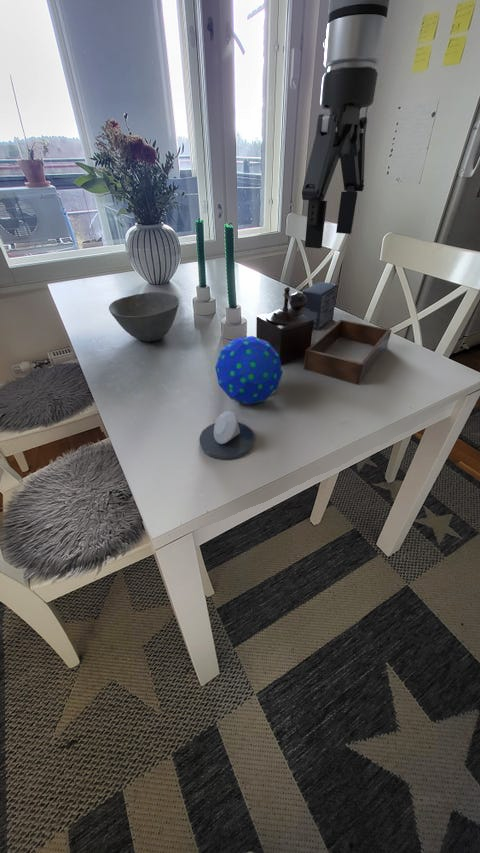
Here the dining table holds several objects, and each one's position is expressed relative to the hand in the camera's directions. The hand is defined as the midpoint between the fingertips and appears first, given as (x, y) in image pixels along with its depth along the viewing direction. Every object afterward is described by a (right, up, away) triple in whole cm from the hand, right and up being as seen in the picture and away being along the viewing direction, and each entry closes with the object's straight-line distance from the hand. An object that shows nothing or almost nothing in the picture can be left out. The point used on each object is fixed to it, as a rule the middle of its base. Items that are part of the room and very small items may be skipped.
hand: (329, 240), depth 61 cm
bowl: (-41, -8, +38) cm, 57 cm away
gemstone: (-18, -35, +2) cm, 40 cm away
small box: (+7, -2, +44) cm, 44 cm away
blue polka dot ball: (-14, -26, +14) cm, 33 cm away
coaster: (-18, -36, +2) cm, 40 cm away
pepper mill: (-4, -15, +27) cm, 31 cm away
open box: (+11, -16, +26) cm, 32 cm away
